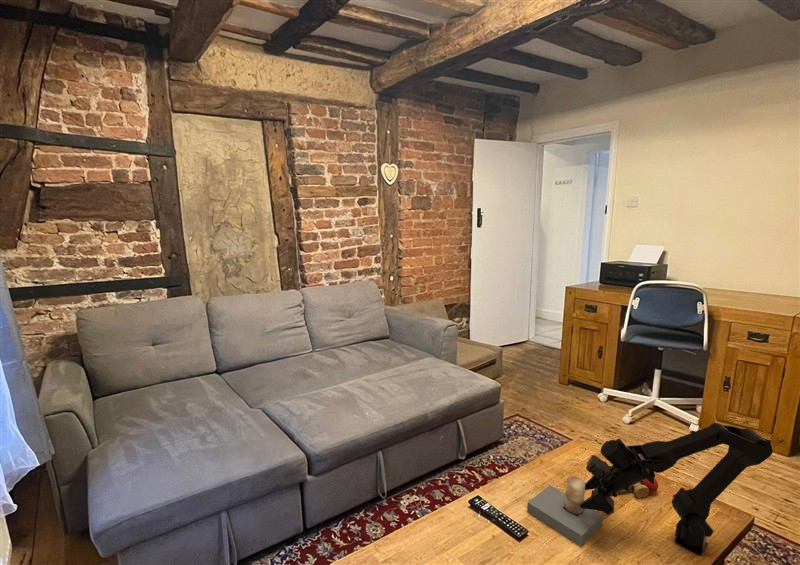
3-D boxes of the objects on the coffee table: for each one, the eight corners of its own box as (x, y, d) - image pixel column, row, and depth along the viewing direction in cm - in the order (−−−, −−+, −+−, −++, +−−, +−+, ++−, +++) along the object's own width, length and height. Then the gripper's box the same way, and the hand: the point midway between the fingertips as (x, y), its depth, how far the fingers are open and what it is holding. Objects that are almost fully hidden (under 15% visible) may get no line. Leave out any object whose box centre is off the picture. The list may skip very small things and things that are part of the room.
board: (601, 524, 129) (602, 514, 128) (581, 546, 121) (582, 535, 120) (549, 494, 143) (549, 485, 142) (527, 511, 134) (527, 502, 134)
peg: (585, 517, 131) (588, 482, 129) (576, 526, 128) (580, 490, 125) (569, 508, 135) (571, 473, 133) (560, 516, 132) (562, 481, 129)
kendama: (614, 507, 138) (665, 496, 140) (611, 488, 138) (662, 477, 140) (601, 495, 146) (649, 485, 147) (598, 477, 146) (647, 467, 147)
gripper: (606, 437, 131) (567, 459, 139) (603, 470, 115) (559, 493, 123) (633, 467, 129) (591, 487, 136) (633, 504, 113) (586, 526, 120)
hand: (582, 497), depth 129 cm, fingers open, 9 cm apart
